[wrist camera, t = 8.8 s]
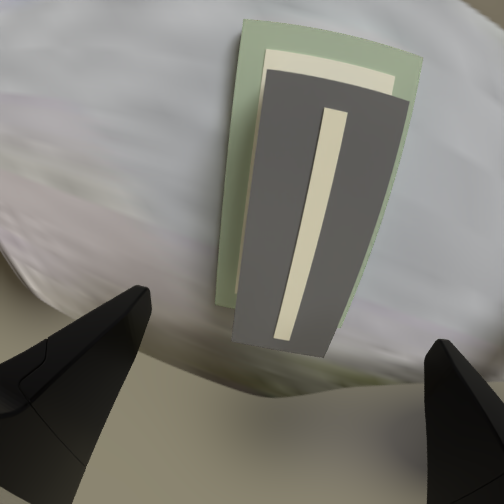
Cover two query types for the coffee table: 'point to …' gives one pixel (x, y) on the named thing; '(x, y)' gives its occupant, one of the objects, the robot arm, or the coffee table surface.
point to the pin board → (250, 103)
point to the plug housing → (312, 207)
